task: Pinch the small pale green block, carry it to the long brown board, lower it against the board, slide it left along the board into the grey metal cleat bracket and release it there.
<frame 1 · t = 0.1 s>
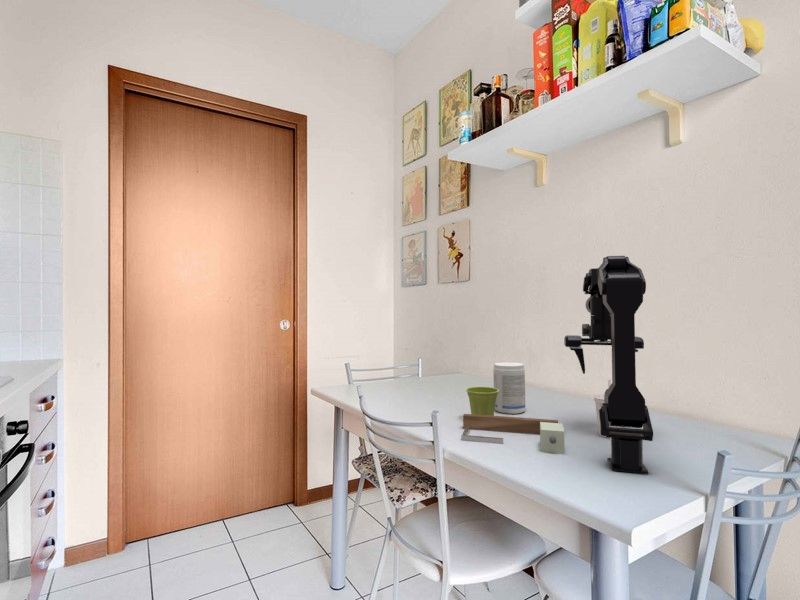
hand: (602, 374, 117), 15 cm above the table, fingers open, 9 cm apart
long brown board: (509, 431, 116), on the table
plant pot: (482, 420, 127), on the table
pale green block: (551, 448, 102), on the table
smoothie: (607, 436, 112), on the table
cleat: (484, 435, 112), on the table
supplement tub: (509, 411, 138), on the table
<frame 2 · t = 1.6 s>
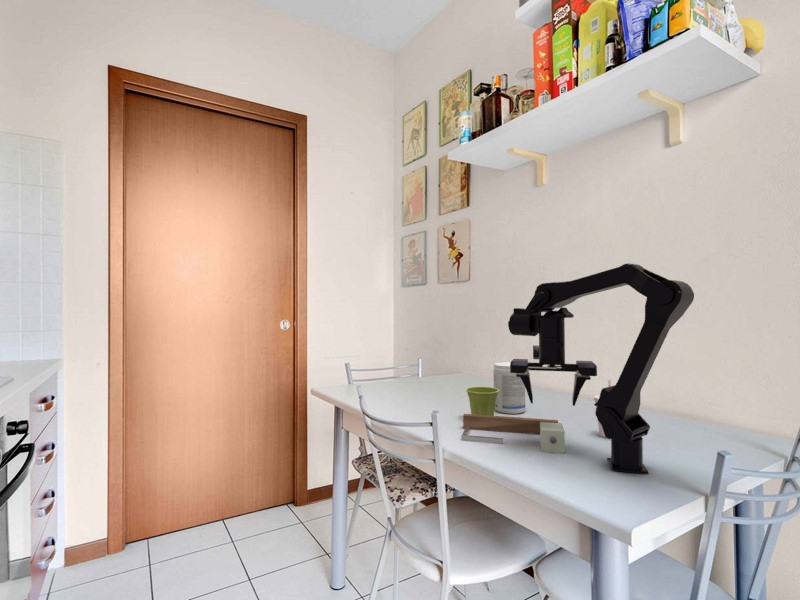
hand: (552, 404, 103), 10 cm above the table, fingers open, 9 cm apart
nothing on the table moved.
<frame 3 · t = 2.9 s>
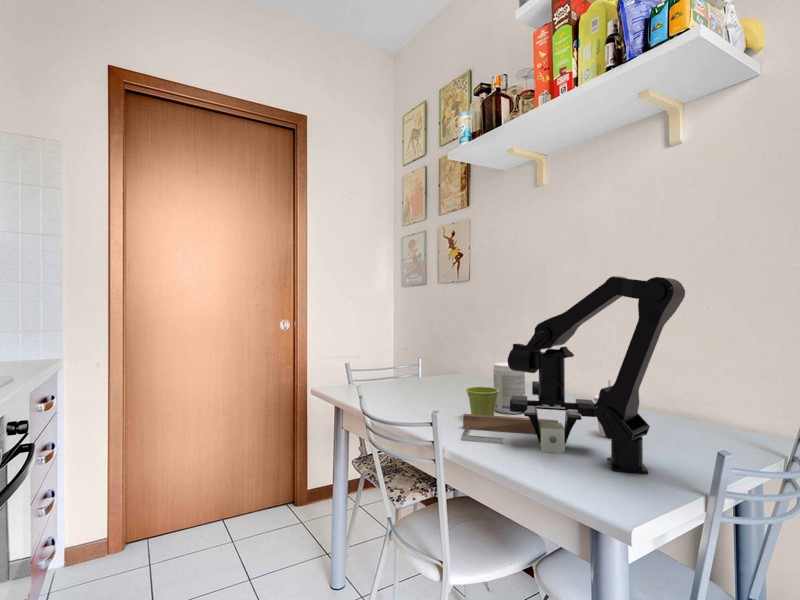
hand: (551, 443, 102), 1 cm above the table, fingers closed on pale green block, 5 cm apart
pale green block: (551, 447, 102), on the table, touching gripper
everything else where it was.
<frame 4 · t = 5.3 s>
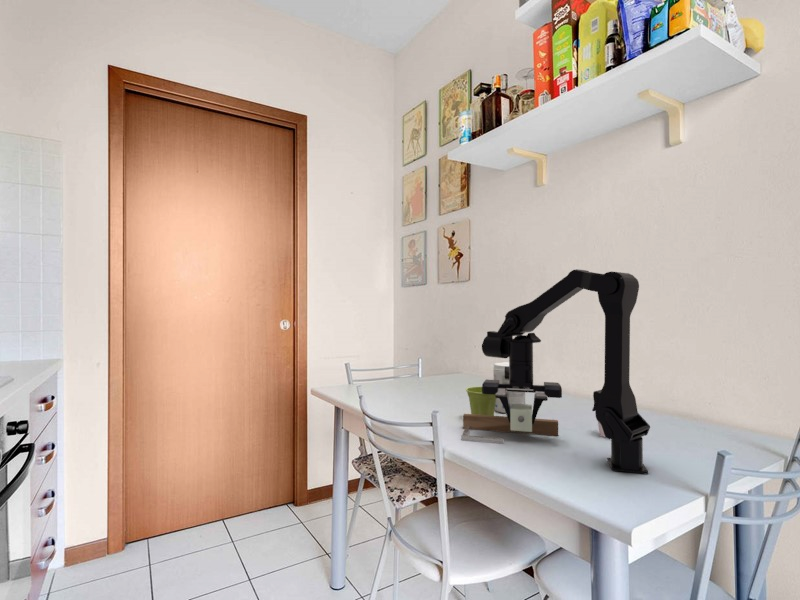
hand: (521, 423, 109), 4 cm above the table, fingers closed on pale green block, 5 cm apart
pale green block: (521, 427, 110), point 3 cm above the table, touching gripper
everything else where it was.
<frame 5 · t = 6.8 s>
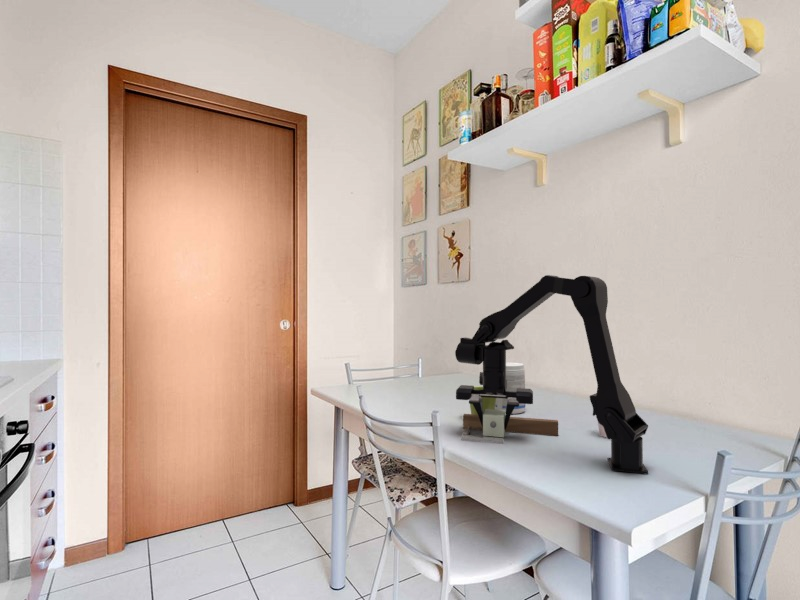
hand: (494, 428, 111), 2 cm above the table, fingers closed on pale green block, 5 cm apart
pale green block: (494, 432, 112), point 1 cm above the table, touching gripper
everything else where it was.
when the fingers open (1 cm above the table, at t = 7.7 s): pale green block stays where it is, on the table.
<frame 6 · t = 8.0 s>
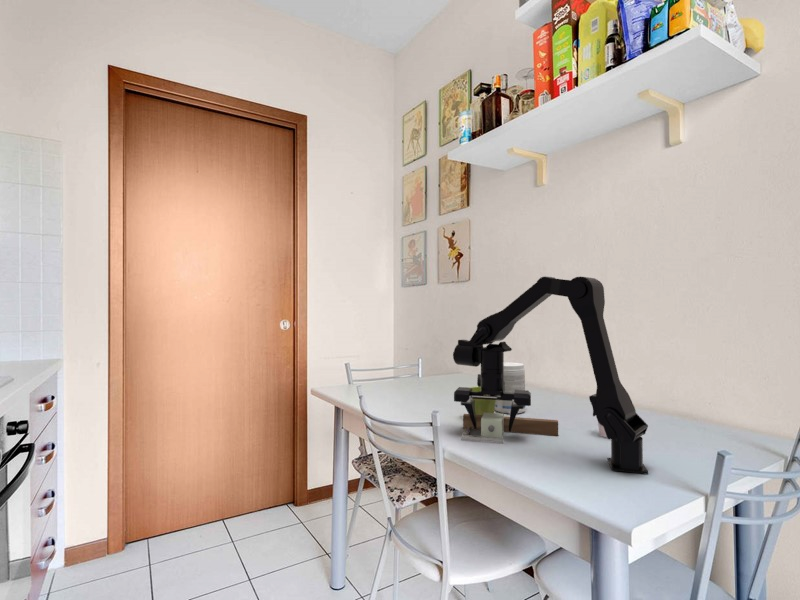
hand: (492, 430, 111), 1 cm above the table, fingers open, 8 cm apart
pale green block: (492, 436, 112), on the table
everything else where it was.
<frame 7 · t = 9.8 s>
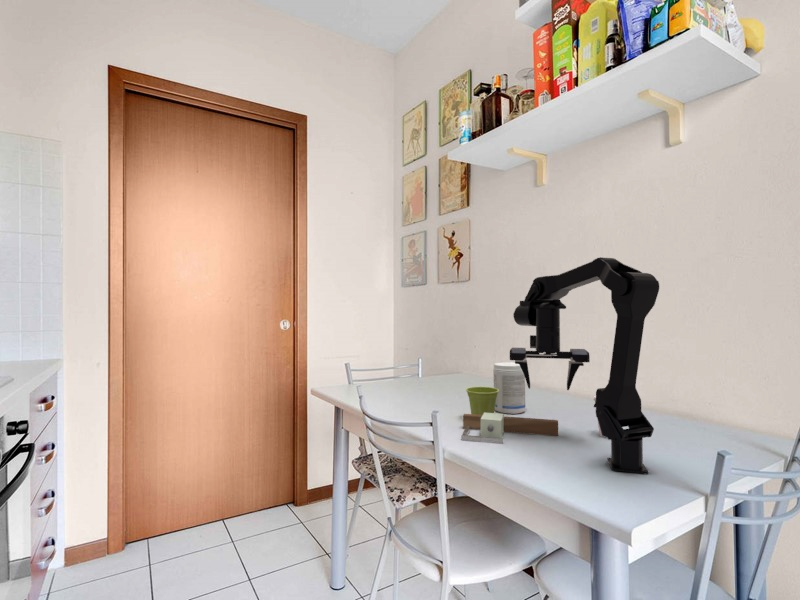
hand: (548, 389, 111), 12 cm above the table, fingers open, 9 cm apart
nothing on the table moved.
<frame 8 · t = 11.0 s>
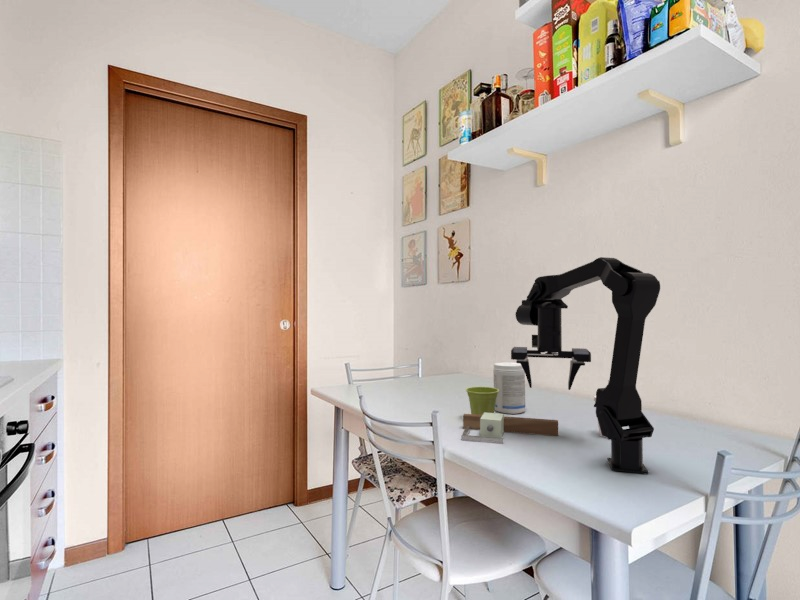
hand: (549, 388, 111), 12 cm above the table, fingers open, 9 cm apart
nothing on the table moved.
at the end: pale green block inside the target area (0.7 cm from its centre), on the table; pale green block tilted 0°; the gripper is holding nothing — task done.
